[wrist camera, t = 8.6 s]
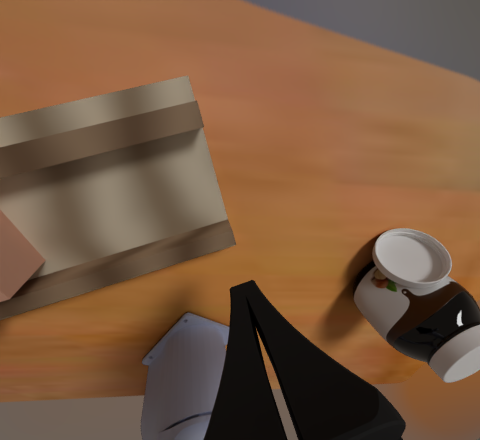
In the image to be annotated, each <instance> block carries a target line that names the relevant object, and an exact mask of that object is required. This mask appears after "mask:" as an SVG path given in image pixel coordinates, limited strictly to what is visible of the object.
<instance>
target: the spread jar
mask: <svg viewBox="0 0 480 440" xmlns="http://www.w3.org/2000/svg"><path fill="white" fill-rule="evenodd" d="M372 256H373V260H374V261H372V262H371V263H369V264H368V265H367V266H365V267H364V268H363V269H362V271H361V272H360V273H359V275H358V276H357V278H356V281H355V283H354V287H353V298H354V302H355V304H356V306H357V307H358V309H359V310H360V312H361V313H362V315H363V316H364V317H365V318H366V319H367V321H368V322H369V323H370V324H371V325H372V326H373V327H374V329H375V330H376V331H377V332H378V333H379V334H380V335H381V336H382V337H383V338H384V339H385V340H386V341H387V342H388V343H389V344H390V345H391V346H392V347H393V348H395V349H396V350H397V351H399V352H401V353H402V354H404V355H406V356H409V357H411V358H414V359H417V360H420V361H424V362H428V365H429V366H430V367H431V368H432V369H433V371H434V372H435V373H436V374H437V375H438V376H439V377H440V378H441V379H442V380H443V381H444V382H455V381H458V380H461V379H463V378H465V377H467V376H469V375H471V374H473V373H475V372H477V371H478V370H480V309H479V307H478V305H477V302H476V301H475V300H474V298H473V296H472V295H471V294H470V293H469V292H468V291H467V290H466V289H465V288H464V287H462V286H461V285H460V284H458V283H457V282H456V281H454V280H453V279H451V278H450V277H448V276H447V275H448V274H449V272H450V271H451V267H452V262H451V257H450V255H449V253H448V251H447V250H446V248H445V247H444V246H443V245H442V244H441V243H440V242H439V241H437V240H436V239H435V238H433V237H431V236H430V235H428V234H426V233H423V232H420V231H417V230H413V229H406V228H399V229H392V230H389V231H387V232H384V233H383V234H382V235H380V236H379V238H378V239H377V241H376V243H375V245H374V247H373V251H372Z"/></svg>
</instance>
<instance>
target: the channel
mask: <svg viewBox="0 0 480 440" xmlns="http://www.w3.org/2000/svg"><path fill="white" fill-rule="evenodd" d="M203 127H204V125H203V121H202V117H201V114H200V110H199V106H198V103H197V101H195V99H194V95H193V92H192V88H191V84H190V81H189V77H188V76H184V77H179V78H175V79H170V80H166V81H162V82H157V83H153V84H148V85H144V86H139V87H135V88H130V89H126V90H122V91H117V92H113V93H108V94H104V95H99V96H95V97H90V98H86V99H82V100H77V101H73V102H68V103H64V104H59V105H55V106H50V107H46V108H42V109H37V110H33V111H28V112H24V113H19V114H15V115H11V116H6V117H2V118H0V210H1V211H2V212H3V213H4V214H5V215H6V217H7V218H8V219H9V220H10V221H11V222H12V223H13V224H14V225H15V227H16V228H17V229H18V230H19V231H20V232H21V233H22V234H23V236H24V237H25V238H26V239H27V240H28V241H29V242H30V243H31V244H32V246H33V247H34V248H35V249H36V250H37V251H38V252H39V253H40V254H41V256H42V257H43V258H44V259H45V262H44V263H43V264H42V265H41V266H40V267H39V268H38V269H37V270H36V271H35V272H34V273H33V274H32V276H31V277H30V278H29V279H28V280H27V281H26V282H25V283H24V284H23V285H22V286H21V287H20V289H19V290H18V291H17V292H16V293H15V294H14V295H13V296H12V297H11V298H10V299H8V300H5V301H2V302H0V320H2V319H5V318H8V317H11V316H14V315H17V314H21V313H24V312H27V311H30V310H33V309H36V308H39V307H43V306H46V305H49V304H52V303H55V302H58V301H61V300H65V299H68V298H71V297H74V296H77V295H80V294H83V293H86V292H90V291H93V290H96V289H99V288H102V287H105V286H108V285H112V284H115V283H118V282H121V281H124V280H127V279H130V278H134V277H137V276H140V275H143V274H146V273H149V272H152V271H155V270H159V269H162V268H165V267H168V266H171V265H174V264H177V263H181V262H184V261H187V260H190V259H193V258H196V257H199V256H203V255H206V254H209V253H212V252H215V251H218V250H221V249H224V248H228V247H231V246H234V245H236V242H235V239H234V235H233V231H232V228H231V226H230V223H229V221H228V218H227V215H226V211H225V207H224V204H223V200H222V196H221V193H220V189H219V186H218V182H217V178H216V175H215V171H214V168H213V164H212V160H211V157H210V153H209V149H208V146H207V142H206V139H205V135H204V131H203Z"/></svg>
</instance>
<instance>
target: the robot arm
mask: <svg viewBox="0 0 480 440" xmlns="http://www.w3.org/2000/svg"><path fill="white" fill-rule="evenodd" d="M230 297H231V313H230V327H228V326H225V325H222V324H220V323H217V322H214V321H211V320H209V319H206V318H203V317H200V316H198V315H195V314H192V313H186V314H184V315H183V316H182V317H181V319H180V320H179V321H178V322H177V323H176V324H175V325H174V326H173V327H172V328H171V329H170V330H169V331H168V332H167V334H166V335H165V336H164V337H163V338H162V339H161V340H160V341H159V342H158V343H157V344H156V345H155V346H154V347H153V349H152V350H151V351H150V352H149V353H148V354H147V355H146V356H145V357H144V358H143V360H142V364H144V365H148V366H149V367H148V374H147V382H146V389H145V396H144V403H143V411H142V418H141V435H142V439H143V440H287V437H286V434H285V431H284V427H283V424H282V421H281V418H280V415H279V412H278V408H277V405H276V402H275V399H274V396H273V393H272V389H271V386H270V383H269V380H268V376H267V373H266V369H265V365H264V360H263V356H262V352H261V348H260V343H259V339H258V335H257V331H258V333H259V336H260V338H261V340H262V343H263V345H264V347H265V350H266V352H267V354H268V356H269V359H270V361H271V363H272V366H273V368H274V371H275V373H276V376H277V379H278V382H279V385H280V388H281V390H282V393H283V396H284V399H285V402H286V405H287V408H288V411H289V414H290V417H291V420H292V422H293V425H294V428H295V431H296V434H297V437H298V440H403V439H402V438H401V436H402V434H403V432H404V430H405V426H406V425H405V421H404V420H403V419H402V417H401V415H400V414H399V413H398V411H397V410H396V409H395V408H394V407H393V405H392V404H391V403H390V402H389V401H388V400H387V399H386V398H385V397H384V396H383V395H382V393H381V392H380V391H379V390H378V389H377V388H375V387H374V386H372V385H371V384H369V383H368V382H366V381H364V380H363V379H361V378H360V377H358V376H357V375H355V374H354V373H352V372H351V371H349V370H348V369H346V368H345V367H343V366H342V365H341V364H339V363H338V362H336V361H335V360H334V359H332V358H331V357H330V356H328V355H327V354H326V353H324V352H323V351H322V350H320V349H319V348H318V347H316V346H315V345H314V344H313V343H311V342H310V341H309V340H308V339H307V338H305V337H304V336H303V335H302V334H301V333H300V332H299V331H297V330H296V329H295V328H294V327H293V326H292V325H291V324H290V323H289V322H288V321H287V320H286V319H285V318H284V317H283V316H282V315H281V314H280V313H279V312H278V311H277V310H276V309H275V308H274V306H273V305H272V304H271V303H270V302H269V301H268V300H267V298H266V297H265V296H264V295H263V293H262V292H261V291H260V289H259V288H258V286H257V285H256V283H255V281H253V280H251V281H248V282H245V283H242V284H240V285H237V286H234V287H231V288H230ZM255 326H256V327H255ZM256 329H257V331H256ZM227 343H228V344H227ZM226 344H227V350H226V349H225V345H226ZM477 440H480V438H479V439H477Z"/></svg>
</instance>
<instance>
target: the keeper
mask: <svg viewBox="0 0 480 440" xmlns="http://www.w3.org/2000/svg"><path fill="white" fill-rule="evenodd" d="M44 262H45V259H44V258H43V257H42V256H41V254H40V253H39V252H38V251H37V250H36V249H35V248H34V247H33V246H32V244H31V243H30V242H29V241H28V240H27V239H26V238H25V237H24V236H23V234H22V233H21V232H20V231H19V230H18V229H17V228H16V227H15V225H14V224H13V223H12V222H11V221H10V220H9V219H8V218H7V217H6V215H5V214H4V213H3V212H2V211H1V210H0V302H2V301H5V300H8V299H10V298H11V297H12V296H13V295H14V294H15V293H16V292H17V291H18V290H19V289H20V287H21V286H22V285H23V284H24V283H25V282H26V281H27V280H28V279H29V278H30V277H31V276H32V274H33V273H34V272H35V271H36V270H37V269H38V268H39V267H40V266H41V265H42V264H43V263H44Z"/></svg>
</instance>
